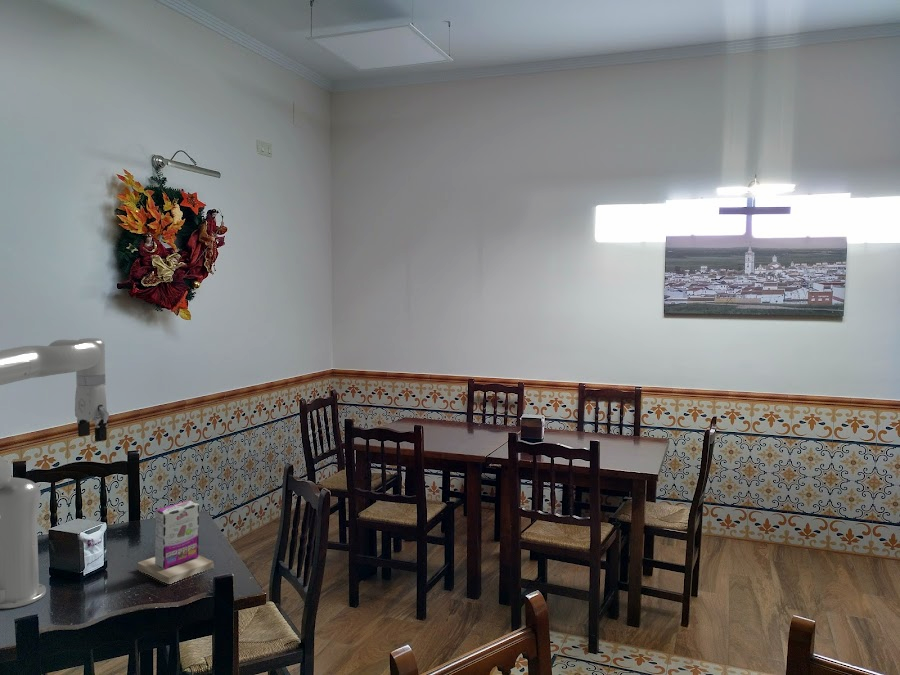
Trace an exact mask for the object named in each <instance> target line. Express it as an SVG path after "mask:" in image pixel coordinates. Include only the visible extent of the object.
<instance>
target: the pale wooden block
mask: <svg viewBox="0 0 900 675" xmlns="http://www.w3.org/2000/svg"><path fill="white" fill-rule="evenodd" d="M214 566H215V564H214V561H213V560H211V559H209V558H206V557H204V556H202V555H199V554H198V557H197V558H195V559H192V560H189V561H186V562H184V563H181V564H178V565H176V566H173V567H170V568H167V569H162V568H161V567H159V566H157V565H156V564H155V556H152V557H149V558H147V559H144V560H142V561H138V562H137V571H138V570H139V571H138V572H140V571H141V572H140V573H142V572H144V573H145V575H146V574H148V575H150V576H152V577H154V578H156V579H158V580H160V581H162V582H165V583H167V584H172V583H174V582H177V581H179V580H182V579H184V578H187V577H189V576H192V575H194V574H197V573H200V572H203V571H205V570H208V569H211V568H215V567H214ZM144 573H143V574H144ZM148 575H147V576H148ZM150 576H149V577H150ZM152 577H151V578H152ZM154 578H153V579H154ZM156 579H155V580H156ZM158 580H157V581H158ZM160 581H159V582H160ZM162 582H161V583H162Z"/></svg>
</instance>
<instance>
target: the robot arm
mask: <svg viewBox="0 0 900 675" xmlns="http://www.w3.org/2000/svg"><path fill="white" fill-rule="evenodd" d="M105 347H106V346H105V341H104V340H103V339H102V338H97V337H91V338H89V337H87V338H80V339H77V340H76V339H58V340H54V341H52V342H51V343H50V344H49V345H22V346H17V347H13V348H7V349H1V350H0V386H3V385H8V384H11V383H17V382H20V381H25V380H29V379H32V378H33V379H35V378H44V377H49V376H54V375H55V376H56V375H63V374H70V373H75V375H76V376H75V378H76V380H75V381H76V388H75V395H74V396H75V398H74V416H75V417H76V418H77V419H76V422H77V435H78V438H79V437H86V436H87V437H88V436H90V435H91V428H90V427H91V425H90V422H92V421H93V423H94V426H95V427H94V442H104V441H106V440H108V435H107V434H108V432H107V427H108V423H109V416H110V414H109V412H108V411H107V397H106V396H107V395H106V389H105V388H106V387H105V386H106V348H105ZM41 492H42V491H41V489H40V487H39V486H38V484H37V483H36V482H34V481H33V480H30V479H27V478H21V477H13V472H12V468H11V466H10V464H9V463H8V462H7V460H6V459H5V458H4V457H2V456H1V455H0V610H2V609H5V610H6V609H13V608H21V607H24V606H27V605H30V604H33V603H35V602H37V601H39V600H40V599H41V598H43V597H44V596H45V595H46V593H47V588H46V586H45V585H44V584H42V583H40V582H39V581H40V580H39V577H40V576H39V574H40V572H39V548H38V547H39V545H38V544H39V543H38V541H39V540H38V515H39V508H40V504H41V496H42V493H41Z"/></svg>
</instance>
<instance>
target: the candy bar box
mask: <svg viewBox="0 0 900 675" xmlns="http://www.w3.org/2000/svg"><path fill="white" fill-rule="evenodd" d="M199 521H200V504H199V503H198V502H195V501H193V500H187V501H182V502H179V503H176V504H171V505H169V506H165V507H161V508H158V509H155V522H154V523H155V524H154V525H155V539H154V540H155V547H154V549H155V550H154V552H155V553H154V557H155V564H156V565H157V566H159V567H161V568H162V569H167V568H170V567H173V566H176V565H178V564H181V563H184V562H186V561H189V560H192V559H195V558H197V557H198V555H199V537H200V536H199V534H200V533H199V531H200V530H199V529H200V522H199Z"/></svg>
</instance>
